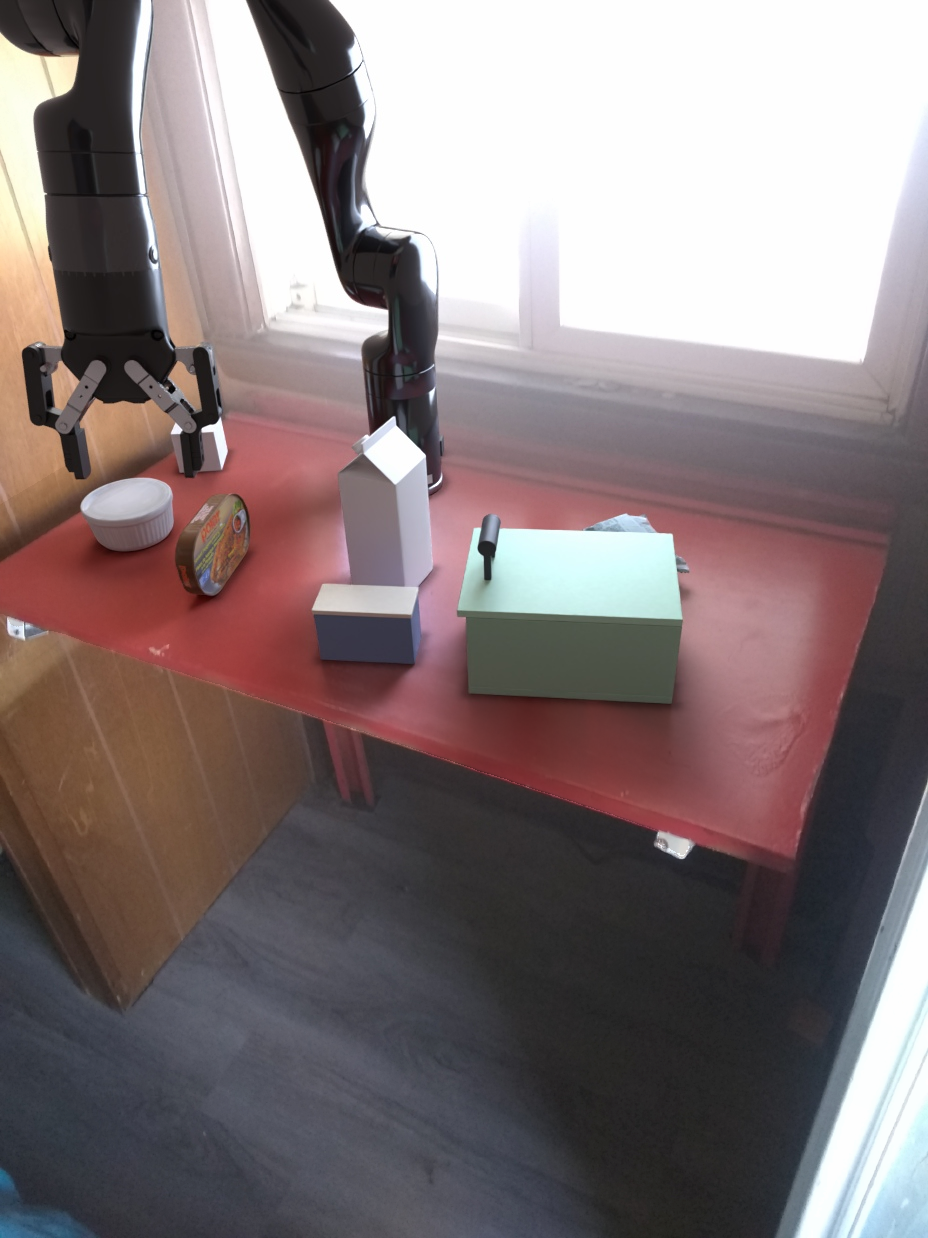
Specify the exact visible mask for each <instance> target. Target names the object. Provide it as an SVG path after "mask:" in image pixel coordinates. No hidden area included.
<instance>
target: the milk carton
mask: <svg viewBox="0 0 928 1238" xmlns="http://www.w3.org/2000/svg"><path fill="white" fill-rule="evenodd" d="M351 449H352V450H353V451H354V453H355V454H356V455H357V456H355V457H354V458H353V459H352V460H351V461H350V462H348V463H347V464H346V465H345V466H343V468H342V469H340V470H339V471H338V472H337V481H338V482H337V483H338V489H339V490H338V491H339V498H340V506H341V511H342V512H341V513H342V519H343V528H344V534H345V535H344V536H345V543H346V551H347V557H348V565H349V573H350V578H351V579H350V580H351V581H350V582H351V585H373V586H398V587H418V588H419V586H420V585H421V584H422V583H423V582H424V580H425V579H426V578H427V577H428V576H429V574H430V573H432V571H433V570H434V562H433V560H434V559H433V546H432V531H431V530H432V529H431V516H430V500H429V495H428V484H427V469H426V455H425V454H424V453H423V452H422V451H421V450H420V449H419V448H418V447H417V446H416V445H415V444H414V443H413V442H412V441H411V440H410V439H409V438H408V437H407V436H406V435H405V434H404V433H403V432H402V431H401V430H400V429H399V428H398V427H397V426H396V419H395V417H394V416H393V417H392V418H391V419H390V420H389V421H387V422H386V423H385V424H384V425H383V426H381V427H380V428H379V429H378V430H377V431H375V432H374V433H373V434H372V435H371V436H370V435H368V434H365V435H363V436H362V437H361V438H360V439H359V440H357V441H356V442H355V443H354V444H352V445H351Z"/></svg>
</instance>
